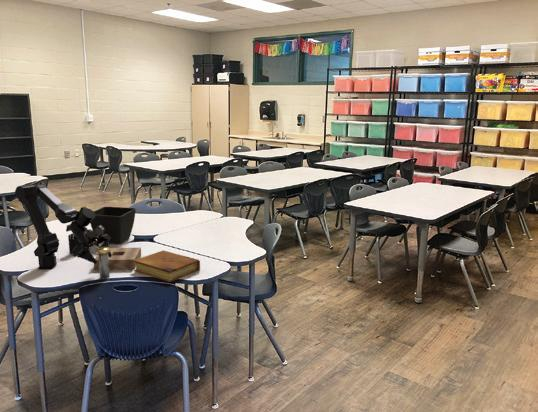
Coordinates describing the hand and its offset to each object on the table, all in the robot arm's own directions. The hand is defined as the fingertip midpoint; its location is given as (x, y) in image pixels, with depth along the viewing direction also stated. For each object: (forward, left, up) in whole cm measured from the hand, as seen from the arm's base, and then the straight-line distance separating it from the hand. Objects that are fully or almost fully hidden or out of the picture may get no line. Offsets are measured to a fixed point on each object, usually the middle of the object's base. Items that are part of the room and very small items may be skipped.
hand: (103, 260), depth 198 cm
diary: (+26, +7, -9) cm, 28 cm away
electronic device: (-21, +37, -8) cm, 43 cm away
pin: (0, 0, -8) cm, 8 cm away
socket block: (+2, +19, -8) cm, 21 cm away
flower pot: (-8, +56, -8) cm, 57 cm away
